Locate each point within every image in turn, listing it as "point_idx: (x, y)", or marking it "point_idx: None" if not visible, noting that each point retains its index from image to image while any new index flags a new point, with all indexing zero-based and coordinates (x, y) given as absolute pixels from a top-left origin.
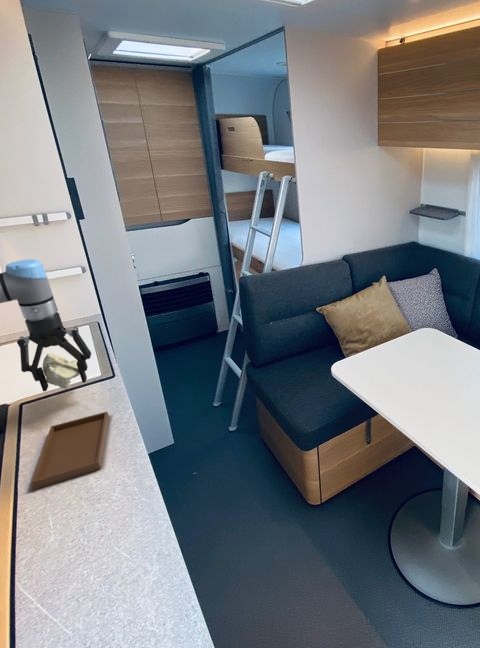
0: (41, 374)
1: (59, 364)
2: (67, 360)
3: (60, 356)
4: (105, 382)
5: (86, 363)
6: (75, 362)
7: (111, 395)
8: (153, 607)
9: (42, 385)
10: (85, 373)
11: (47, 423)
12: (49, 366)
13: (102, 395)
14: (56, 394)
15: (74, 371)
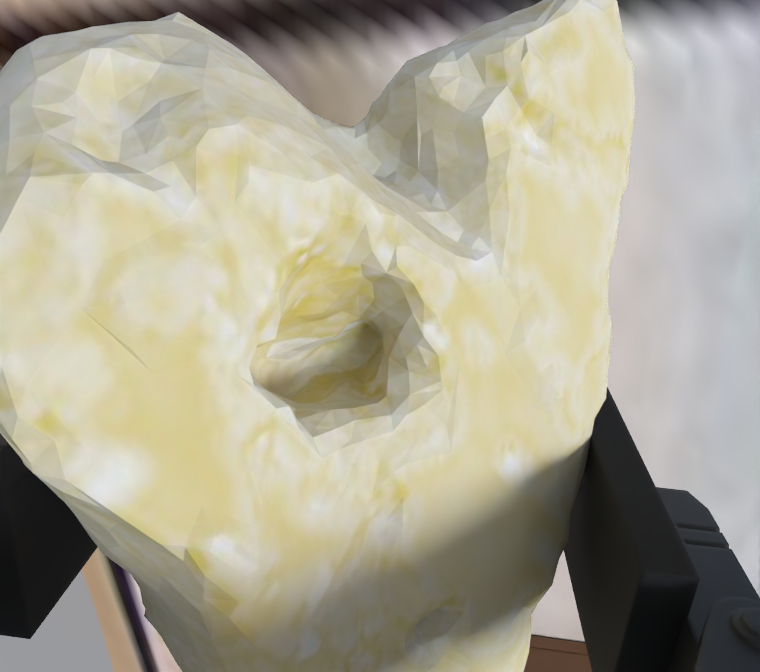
0: (70, 540)
1: (324, 663)
2: (415, 272)
3: (275, 193)
4: (700, 66)
5: (733, 567)
6: (526, 192)
7: (707, 374)
8: None
9: None
10: (614, 414)
11: None
12: (157, 626)
13: (636, 326)
14: (229, 38)
15: (522, 624)
